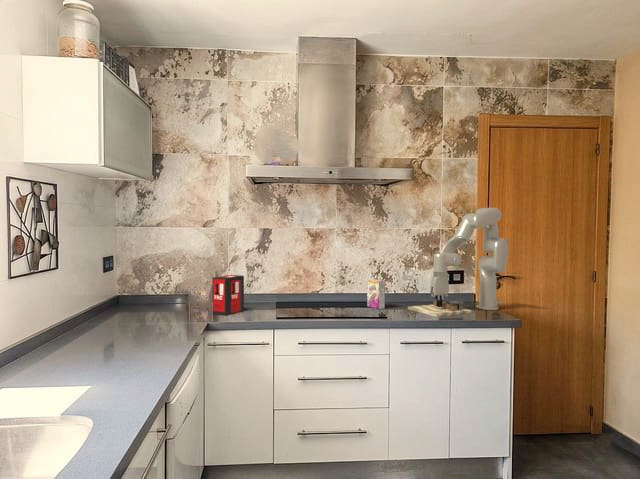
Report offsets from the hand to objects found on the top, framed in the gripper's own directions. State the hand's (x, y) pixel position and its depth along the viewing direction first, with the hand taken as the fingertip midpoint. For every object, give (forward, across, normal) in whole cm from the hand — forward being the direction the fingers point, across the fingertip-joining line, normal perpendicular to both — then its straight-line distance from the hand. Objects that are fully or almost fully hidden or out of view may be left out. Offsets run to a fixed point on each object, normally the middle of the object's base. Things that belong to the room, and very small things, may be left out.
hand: (439, 306), depth 281 cm
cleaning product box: (+4, +115, -31) cm, 119 cm away
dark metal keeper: (+1, -8, +4) cm, 9 cm away
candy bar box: (+3, +29, -23) cm, 37 cm away
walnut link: (+1, -6, -3) cm, 6 cm away
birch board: (+3, -1, -2) cm, 3 cm away
